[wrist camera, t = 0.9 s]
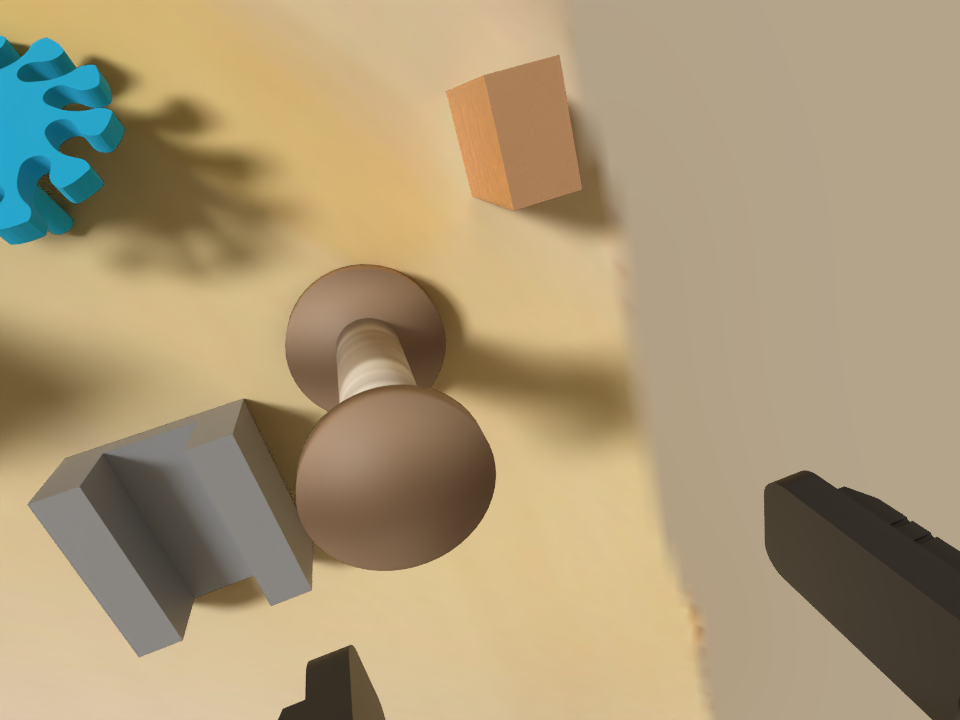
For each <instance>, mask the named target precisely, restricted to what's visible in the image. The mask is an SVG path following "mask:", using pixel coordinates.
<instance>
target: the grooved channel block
mask: <svg viewBox="0 0 960 720" xmlns="http://www.w3.org/2000/svg"><path fill="white" fill-rule="evenodd" d="M27 505H28V506H29V507H30V509H31V510H32V512H33V513H34V514H35V516H36V517H37V518H38V520H39V521H40V523H41V524H42V525H43V527H44V528H45V529H46V531H47V532H48V533H49V535H50V536H51V538H52V539H53V540H54V542H55V543H56V544H57V546H58V547H59V549H60V550H61V551H62V553H63V554H64V555H65V557H66V558H67V559H68V561H69V562H70V564H71V565H72V566H73V568H74V569H75V570H76V572H77V573H78V575H79V576H80V577H81V579H82V580H83V581H84V583H85V584H86V586H87V587H88V588H89V590H90V591H91V592H92V594H93V595H94V596H95V598H96V599H97V601H98V602H99V603H100V605H101V606H102V607H103V609H104V610H105V612H106V613H107V614H108V616H109V617H110V618H111V620H112V621H113V622H114V624H115V625H116V627H117V628H118V629H119V631H120V632H121V633H122V635H123V636H124V638H125V639H126V640H127V642H128V643H129V644H130V646H131V647H132V648H133V650H134V651H135V653H136V654H137V655H138V657H141V656H144V655H146V654H149V653H152V652H154V651H157V650H159V649H162V648H164V647H167V646H170V645H172V644H175V643H177V642H180V641H182V640H183V637H184V634H185V630H186V627H187V623H188V620H189V616H190V612H191V609H192V605H193V602H194V598H196V597H199V596H201V595H204V594H207V593H209V592H212V591H215V590H217V589H220V588H222V587H225V586H228V585H230V584H233V583H236V582H238V581H241V580H244V579H246V578H249V577H252V576H254V577H255V578H256V580H257V582H258V584H259V586H260V587H261V589H262V591H263V593H264V595H265V596H266V598H267V600H268V602H269V604H270V605H271V606H273V605H275V604H278V603H280V602H283V601H286V600H288V599H291V598H293V597H296V596H298V595H301V594H304V593H306V592H309V591H311V590H312V564H313V541H312V539H311V538H310V537H309V535H308V534H307V532H306V530H305V529H304V527H303V525H302V523H301V520H300V517H299V515H298V510H297V508H296V506H295V504H294V502H293V500H292V498H291V496H290V494H289V492H288V490H287V488H286V486H285V483H284V481H283V479H282V477H281V475H280V473H279V471H278V469H277V467H276V465H275V463H274V461H273V459H272V457H271V455H270V453H269V450H268V448H267V446H266V444H265V442H264V440H263V438H262V436H261V434H260V432H259V430H258V428H257V426H256V424H255V422H254V420H253V417H252V415H251V413H250V411H249V409H248V407H247V405H246V403H245V401H244V399H241V400H238V401H235V402H232V403H229V404H226V405H223V406H220V407H217V408H214V409H211V410H208V411H205V412H202V413H199V414H196V415H193V416H190V417H187V418H184V419H181V420H178V421H175V422H172V423H169V424H166V425H163V426H160V427H157V428H154V429H151V430H149V431H146V432H143V433H140V434H137V435H134V436H131V437H128V438H125V439H122V440H119V441H116V442H113V443H110V444H107V445H104V446H101V447H98V448H95V449H92V450H89V451H86V452H83V453H80V454H77V455H74V456H71V457H68V458H65V459H64V460H63V461H62V463H61V464H60V465H59V466H58V468H57V469H56V470H55V471H54V472H53V474H52V475H51V476H50V477H49V479H48V480H47V481H46V482H45V483H44V485H43V486H42V487H41V488H40V490H39V491H38V492H37V493H36V494H35V496H34V497H33V498H32V499H31V501H30V502H29V503H28V504H27Z"/></svg>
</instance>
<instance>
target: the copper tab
mask: <svg viewBox="0 0 960 720" xmlns="http://www.w3.org/2000/svg"><path fill="white" fill-rule="evenodd" d="M446 93H447V97H448V101H449V105H450V109H451V113H452V117H453V121H454V125H455V129H456V133H457V137H458V141H459V145H460V149H461V153H462V157H463V161H464V165H465V169H466V173H467V177H468V181H469V185H470V189H471V193H472V196H473V197H476V198H479V199H482V200H485V201H488V202H491V203H494V204H496V205H499V206H502V207H505V208H508V209H511V210H518V209H521V208H524V207H527V206H531V205H534V204H537V203H540V202H544V201H547V200H550V199H553V198H557V197H560V196H563V195H566V194H570V193H573V192H576V191H579V190H582V185H581V179H580V173H579V167H578V162H577V156H576V150H575V144H574V138H573V132H572V126H571V121H570V115H569V109H568V103H567V97H566V91H565V85H564V80H563V74H562V68H561V62H560V56H559V55H557V56H553V57H550V58H546V59H542V60H539V61H535V62H531V63H527V64H524V65H520V66H516V67H513V68H509V69H505V70H502V71H498V72H494V73H491V74H487V75H483V76H481V77H479V78H476V79H474V80H472V81H469V82H467V83H465V84H462V85H460V86H458V87H455V88H453V89H451V90H448V91H446Z"/></svg>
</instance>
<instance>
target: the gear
mask: <svg viewBox="0 0 960 720" xmlns="http://www.w3.org/2000/svg"><path fill="white" fill-rule="evenodd" d="M111 101H112V93H111V89H110V87H109V85H108V83H107V81H106V80H105V78H104V77H103V75H102V74H101V72H100V71H99V70H98V68H97V67H96V65H84V66H81V67H79V68H76V67H75V65H74V64H73V62H72V61H71V59H70V58H69V57H68V55H67V54H66V53H65V51H64V50H63V48H62V47H61V46H60V45H59V44H57V43H56V42H54V41H53V40H51V39H49V38H43V39H40V40H38V41H36V42H35V43H33V44H32V45H31V47H30V48H29V50H28V51H27V52H26V53H25V54H24V55H23V56H22V57H21V56H20V55H19V54H18V53H17V51H16V50H15V49H14V48H13V46H12V45H11V44H10V43H9V41H8V40H7V39H6V38H5V37H2V36H0V237H2V238H3V239H4V240H6V241H7V242H8V243H9V244H11V245H13V244H22V243H26V242H30V241H33V240H36V239H38V238H41V237H43V236H45V235H46V233H47V230H49V231H50V232H51V233H53V234H63V233H66V232H67V231H69V230H70V229H71V227H72V226H73V219H72V218H71V217H70V216H69V215H68V214H67V213H66V212H65V211H64V210H63V209H62V208H61V207H60V206H59V205H58V204H57V203H56V202H55V201H54V200H53V199H52V198H51V197H50V196H49V195H48V194H47V193H46V192H45V191H44V190H43V189H41V188H40V187H39V186H38V185H37V184H36V183H37V181H38V180H39V179H40V178H41V177H42V176H43V175H45V174H47V173H50V174H49V178H50V181H51V183H52V184H53V185H54V186H55V187H56V188H57V189H58V190H59V191H60V192H61V193H62V194H63V195H64V196H65V197H66V198H67V199H68V200H69V201H70V202H73V203H76V204H78V203H80V202H82V201H84V200H86V199H87V198H89V197H90V196H92V195H93V194H94V193H96V192H97V191H98V190H99V189H100V188H101V187H102V186H103V185H104V183H103V181H102V179H101V178H100V177H99V176H98V174H97V173H96V172H95V171H94V170H93V168H92V167H91V166H90V165H89V164H88V163H87V162H86V161H85V160H83V159H80V158H75V157H70V156H67V155H64V154H62V153H60V146H61V144H62V143H63V142H64V141H65V140H67V139H69V138H71V137H76V136H81V137H84V138H85V139H86V140H87V141H88V142H89V143H90V145H91V146H92V147H93V148H94V149H95V150H97V151H99V152H104V153H105V152H113V151H114V150H115V148H116V147H117V146H118V144H119V143H120V141H121V139H122V137H123V134H124V131H125V129H124V127H123V126H122V124H121V123H120V122H119V120H118V119H117V117H116V116H115V115H114V113H113V112H112V111H111V110H109V109H106V108H101V107H105V106H107V105H109V104H111ZM72 103H78V104H82V105H85V106H88V107H91V108H95V109H91V110H85V111H67V110H62V109H61V108H63V107H64V106H66V105H68V104H72Z"/></svg>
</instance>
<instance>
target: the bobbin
mask: <svg viewBox="0 0 960 720" xmlns="http://www.w3.org/2000/svg"><path fill="white" fill-rule="evenodd" d="M285 348H286V358H287V363H288V367H289V369H290V372H291V375H292V377H293V378H294V380H295V382H296V384H297V385H298V387H299V388H300V389H301V391H302V392H303V393H304V394H305V395H306V396H307V397H308V398H309V399H310V400H311V401H313V402H314V403H315V404H316V405H318V406H320V407H321V408H323V409H324V410H327V411H329V412H328V413H327V414H326V415H324V416H323V417H322V418H321V419H320V421H319V422H318V423H317V424H316V425H315V427H314V428H313V429H312V431H311V432H310V434H309V436H308V437H307V439H306V441H305V443H304V446H303V448H302V450H301V453H300V457H299V461H298V468H297V479H296V506H297V510H298V515H299V517H300V520H301V523H302V525H303V527H304V529H305V530H306V532H307V534H308V535H309V537H310V538H311V539H312V540H313V541H314V543H315V544H316V545H317V546H318V547H320V548H321V549H322V550H323V551H324V552H325V553H327V554H328V555H330V556H331V557H333V558H335V559H337V560H339V561H341V562H343V563H345V564H348V565H351V566H354V567H357V568H362V569H367V570H376V571H393V570H402V569H407V568H412V567H416V566H419V565H422V564H425V563H428V562H430V561H433V560H435V559H437V558H439V557H441V556H443V555H444V554H446V553H448V552H450V551H451V550H452V549H454V548H455V547H457V546H458V545H459V544H461V543H462V542H463V541H464V540H465V539H466V538H467V537H468V536H469V535H470V534H471V533H472V532H473V531H474V530H475V528H476V527H477V526H478V524H479V523H480V522H481V520H482V519H483V517H484V515H485V513H486V511H487V510H488V508H489V505H490V502H491V500H492V497H493V493H494V488H495V480H496V469H495V462H494V457H493V453H492V450H491V448H490V445H489V443H488V441H487V440H486V438H485V436H484V434H483V432H482V431H481V429H480V427H479V425H478V423H477V422H476V420H475V419H474V417H473V416H472V415H471V414H470V412H469V411H468V410H467V409H466V408H464V407H463V406H462V405H461V404H460V403H459V402H457V401H456V400H454V399H453V398H451V397H449V396H448V395H446V394H444V393H442V392H439V391H436V390H434V389H431V388H430V387H431V386H432V384H433V383H434V381H435V379H436V378H437V376H438V374H439V372H440V369H441V366H442V363H443V360H444V354H445V332H444V327H443V323H442V321H441V318H440V315H439V313H438V311H437V310H436V308H435V306H434V304H433V303H432V302H431V300H430V299H429V297H428V296H427V295H426V293H425V292H424V291H423V290H422V289H421V288H420V286H419V285H418V284H416V283H415V282H414V281H413V280H411V279H410V278H409V277H407V276H405V275H404V274H402V273H400V272H398V271H395V270H393V269H390V268H387V267H383V266H377V265H366V264H360V265H351V266H347V267H342V268H339V269H336V270H334V271H331V272H329V273H327V274H325V275H324V276H322V277H320V278H319V279H318V280H316V281H315V282H313V283H312V284H311V285H310V286H309V287H308V288H307V289H306V290H305V291H304V293H303V294H302V295H301V296H300V298H299V299H298V301H297V303H296V304H295V306H294V308H293V311H292V313H291V316H290V319H289V324H288V328H287V334H286V343H285Z"/></svg>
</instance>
